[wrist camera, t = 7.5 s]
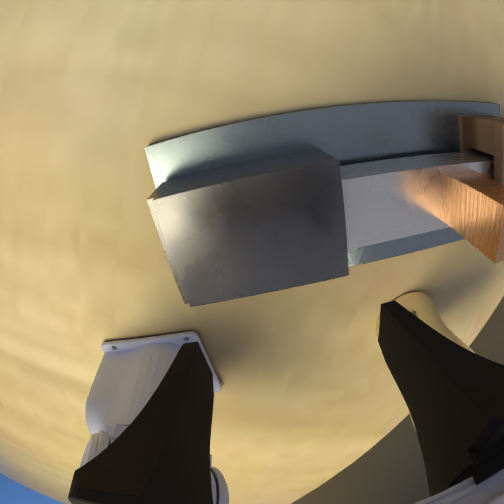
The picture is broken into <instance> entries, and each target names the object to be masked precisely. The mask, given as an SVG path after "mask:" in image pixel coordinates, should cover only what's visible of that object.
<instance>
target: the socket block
mask: <svg viewBox="0 0 504 504" xmlns="http://www.w3.org/2000/svg"><path fill="white" fill-rule="evenodd" d="M458 118H459V135H460V152H462V151H475V150H480V151H482V152H485V153H488V154H491V155H493V156H494V179H493V180H495V181H497V182H499V183H501V184H503V185H504V118H502V117H497V116H468V115H458Z"/></svg>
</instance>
